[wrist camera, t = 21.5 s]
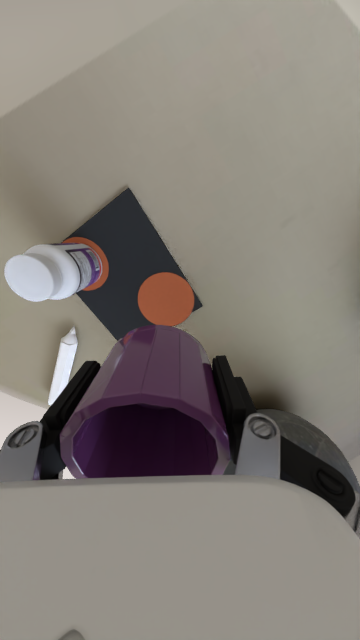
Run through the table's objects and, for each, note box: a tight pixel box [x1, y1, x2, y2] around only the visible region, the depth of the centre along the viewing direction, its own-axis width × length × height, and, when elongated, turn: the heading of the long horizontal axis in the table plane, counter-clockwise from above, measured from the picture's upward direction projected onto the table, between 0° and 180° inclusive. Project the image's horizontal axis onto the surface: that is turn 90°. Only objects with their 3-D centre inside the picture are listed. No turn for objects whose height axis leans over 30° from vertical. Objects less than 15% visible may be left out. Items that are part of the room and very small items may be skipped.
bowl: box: [223, 409, 360, 493], centre depth 31 cm, size 20×20×15 cm
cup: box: [59, 325, 231, 479], centre depth 10 cm, size 7×7×6 cm
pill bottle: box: [4, 243, 102, 301], centre depth 20 cm, size 5×5×10 cm
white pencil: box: [48, 326, 78, 405], centre depth 31 cm, size 3×2×16 cm
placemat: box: [61, 188, 202, 341], centre depth 26 cm, size 18×14×1 cm
